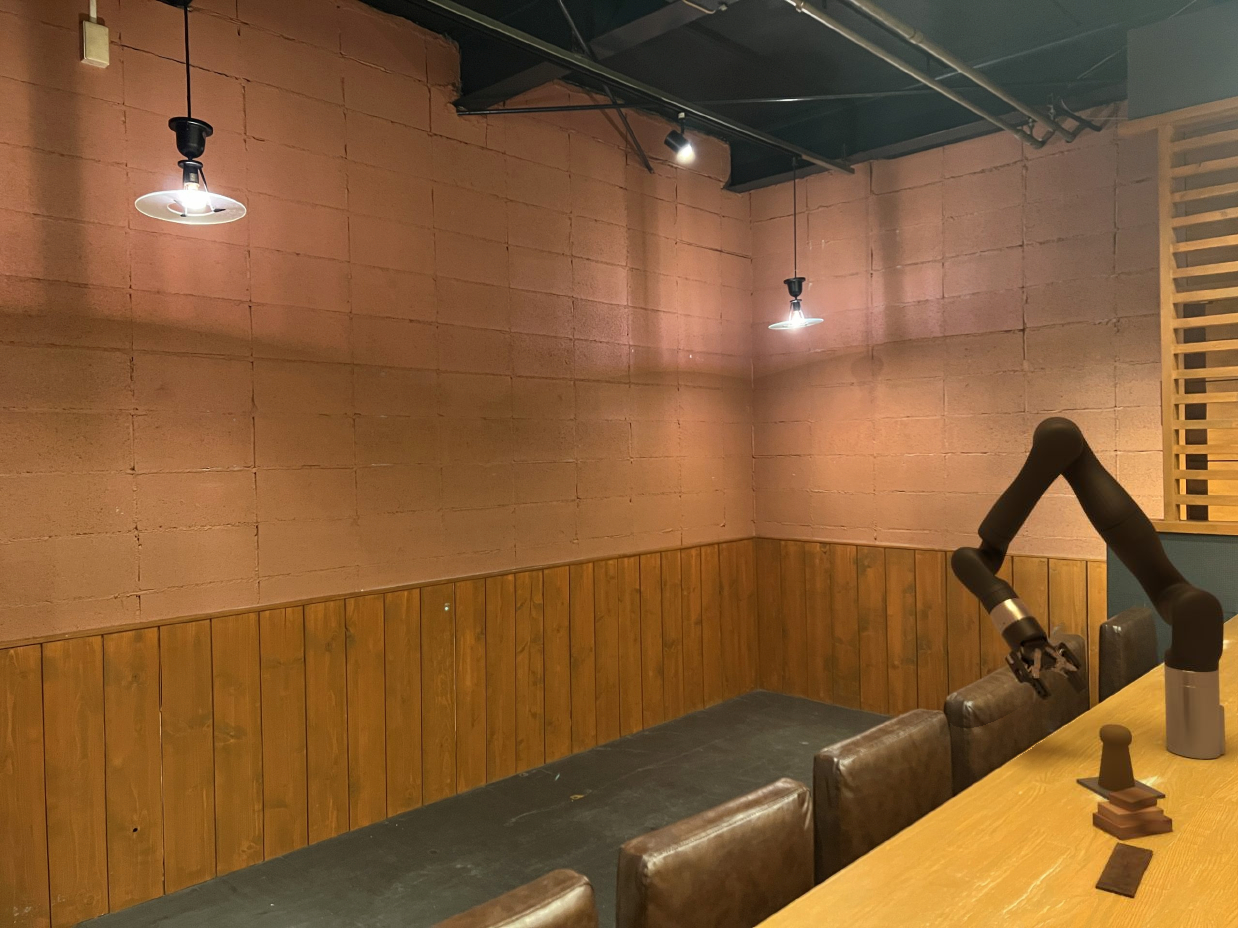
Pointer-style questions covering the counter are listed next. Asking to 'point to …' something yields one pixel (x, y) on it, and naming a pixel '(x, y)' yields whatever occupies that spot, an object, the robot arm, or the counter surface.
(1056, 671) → the robot arm
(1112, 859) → the wooden plank
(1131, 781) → the cork
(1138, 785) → the slate coaster
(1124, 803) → the offcut stack
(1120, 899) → the counter surface
